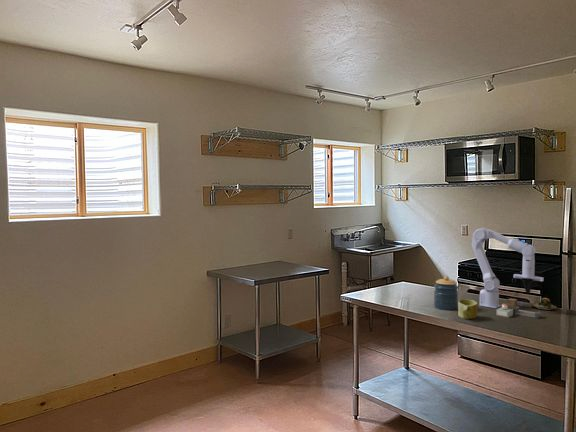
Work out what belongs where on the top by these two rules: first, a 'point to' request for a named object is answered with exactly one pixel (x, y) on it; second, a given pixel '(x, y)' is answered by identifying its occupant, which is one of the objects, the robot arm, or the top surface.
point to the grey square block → (504, 312)
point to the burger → (544, 304)
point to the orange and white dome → (504, 306)
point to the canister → (446, 294)
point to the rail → (528, 313)
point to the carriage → (512, 304)
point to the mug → (467, 309)
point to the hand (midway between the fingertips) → (527, 292)
